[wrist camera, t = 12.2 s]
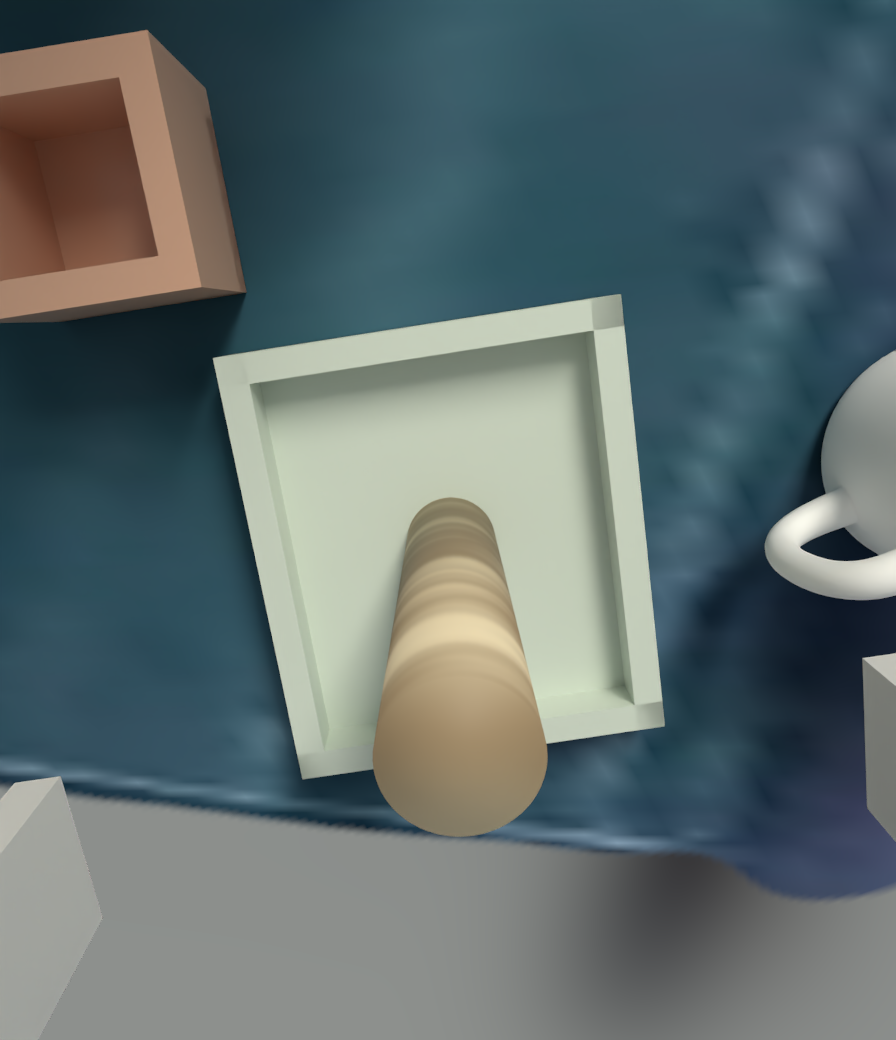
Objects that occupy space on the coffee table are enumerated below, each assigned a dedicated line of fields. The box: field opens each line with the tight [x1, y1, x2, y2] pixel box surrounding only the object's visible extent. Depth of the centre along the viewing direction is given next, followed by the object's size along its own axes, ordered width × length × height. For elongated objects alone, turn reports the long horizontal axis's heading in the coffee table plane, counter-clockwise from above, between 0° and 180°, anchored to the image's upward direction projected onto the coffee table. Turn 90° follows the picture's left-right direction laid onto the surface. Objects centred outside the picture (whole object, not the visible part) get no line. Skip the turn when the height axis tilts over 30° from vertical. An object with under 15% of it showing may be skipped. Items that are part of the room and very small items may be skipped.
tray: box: [213, 294, 665, 780], centre depth 31 cm, size 15×13×2 cm
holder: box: [0, 30, 247, 323], centre depth 26 cm, size 7×7×6 cm
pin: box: [373, 497, 547, 837], centre depth 24 cm, size 3×3×16 cm
